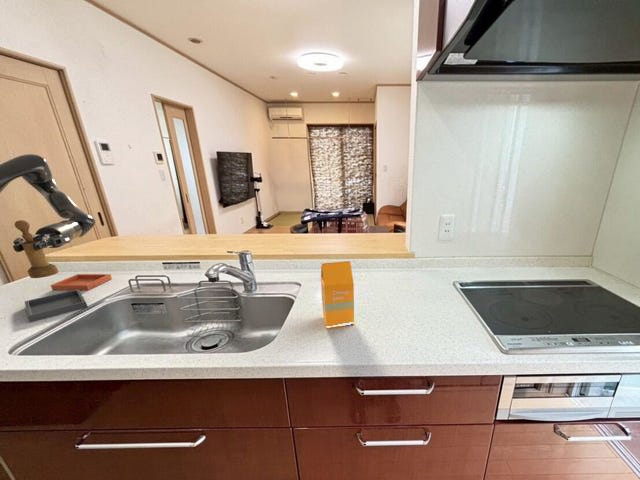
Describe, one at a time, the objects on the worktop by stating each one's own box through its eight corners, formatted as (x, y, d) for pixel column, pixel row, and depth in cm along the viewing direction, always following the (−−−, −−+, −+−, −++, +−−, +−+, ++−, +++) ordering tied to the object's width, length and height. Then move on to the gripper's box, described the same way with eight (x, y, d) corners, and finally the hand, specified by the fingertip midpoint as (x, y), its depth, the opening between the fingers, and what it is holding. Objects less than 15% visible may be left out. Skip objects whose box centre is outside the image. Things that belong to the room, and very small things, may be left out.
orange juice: (354, 325, 92) (353, 265, 85) (326, 329, 90) (323, 268, 82) (348, 313, 99) (347, 257, 92) (322, 316, 97) (319, 259, 89)
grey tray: (27, 306, 101) (24, 301, 100) (80, 294, 111) (78, 288, 110) (30, 322, 92) (27, 316, 91) (87, 307, 101) (85, 301, 100)
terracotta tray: (52, 290, 113) (50, 285, 113) (79, 278, 124) (77, 274, 123) (88, 290, 114) (86, 285, 113) (112, 278, 124) (110, 274, 124)
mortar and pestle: (58, 269, 102) (36, 217, 95) (59, 274, 98) (35, 220, 91) (30, 274, 97) (4, 220, 90) (29, 280, 93) (2, 224, 86)
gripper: (26, 225, 102) (-12, 238, 87) (78, 223, 107) (50, 234, 92) (35, 246, 105) (0, 262, 90) (85, 243, 110) (59, 257, 95)
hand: (25, 248), depth 91 cm, fingers closed on mortar and pestle, 4 cm apart
